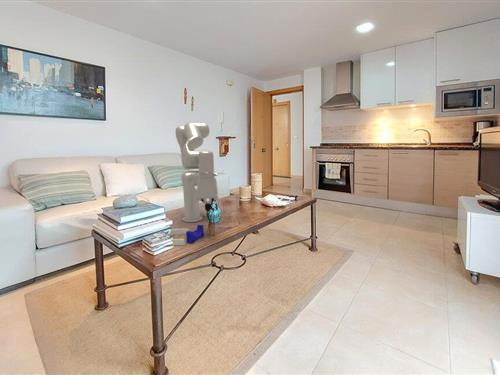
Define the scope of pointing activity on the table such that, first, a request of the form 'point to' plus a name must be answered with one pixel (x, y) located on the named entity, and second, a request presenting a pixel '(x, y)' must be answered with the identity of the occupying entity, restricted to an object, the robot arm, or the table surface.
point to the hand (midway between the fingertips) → (208, 211)
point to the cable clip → (195, 234)
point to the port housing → (178, 232)
